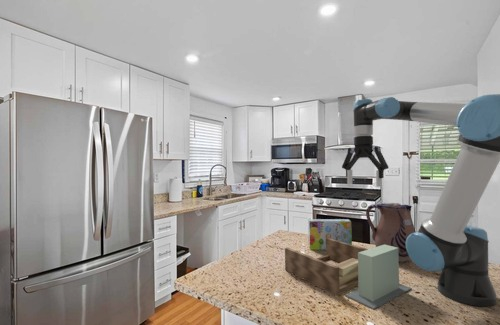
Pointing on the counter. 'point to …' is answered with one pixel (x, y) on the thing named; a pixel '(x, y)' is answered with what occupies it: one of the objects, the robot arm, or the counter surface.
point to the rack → (323, 265)
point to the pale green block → (378, 271)
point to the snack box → (328, 232)
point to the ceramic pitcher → (392, 227)
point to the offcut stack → (348, 271)
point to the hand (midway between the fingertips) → (363, 185)
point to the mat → (379, 301)
